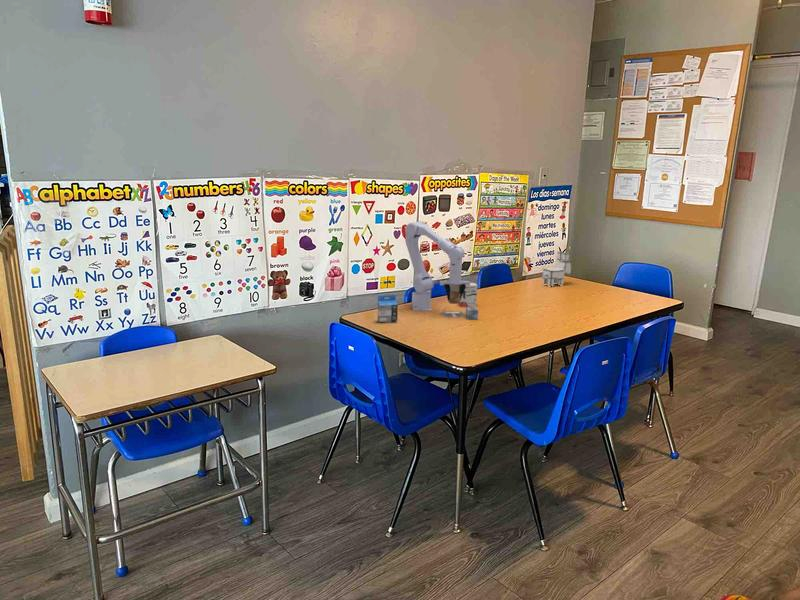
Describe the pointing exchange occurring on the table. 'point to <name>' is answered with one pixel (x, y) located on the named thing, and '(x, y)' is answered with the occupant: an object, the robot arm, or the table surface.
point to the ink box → (469, 296)
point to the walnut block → (454, 297)
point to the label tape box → (387, 308)
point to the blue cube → (471, 313)
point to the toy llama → (557, 270)
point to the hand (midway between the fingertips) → (454, 299)
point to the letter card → (453, 314)
